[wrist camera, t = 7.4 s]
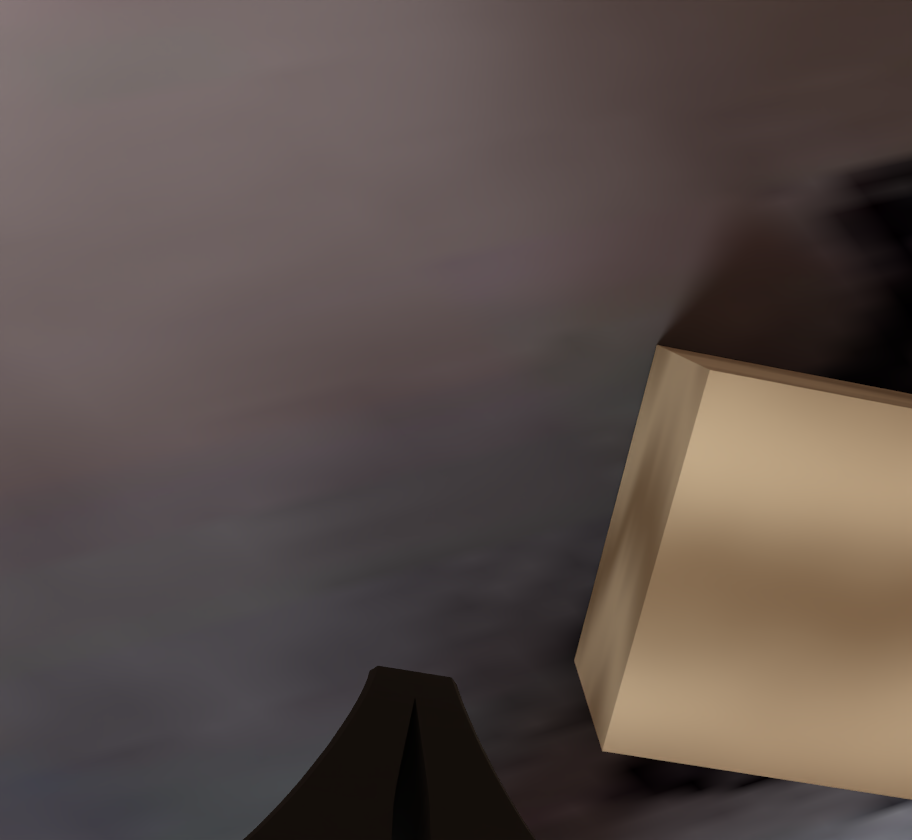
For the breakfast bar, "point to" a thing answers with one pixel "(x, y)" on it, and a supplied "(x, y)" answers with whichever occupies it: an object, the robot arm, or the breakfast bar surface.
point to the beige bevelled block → (759, 579)
